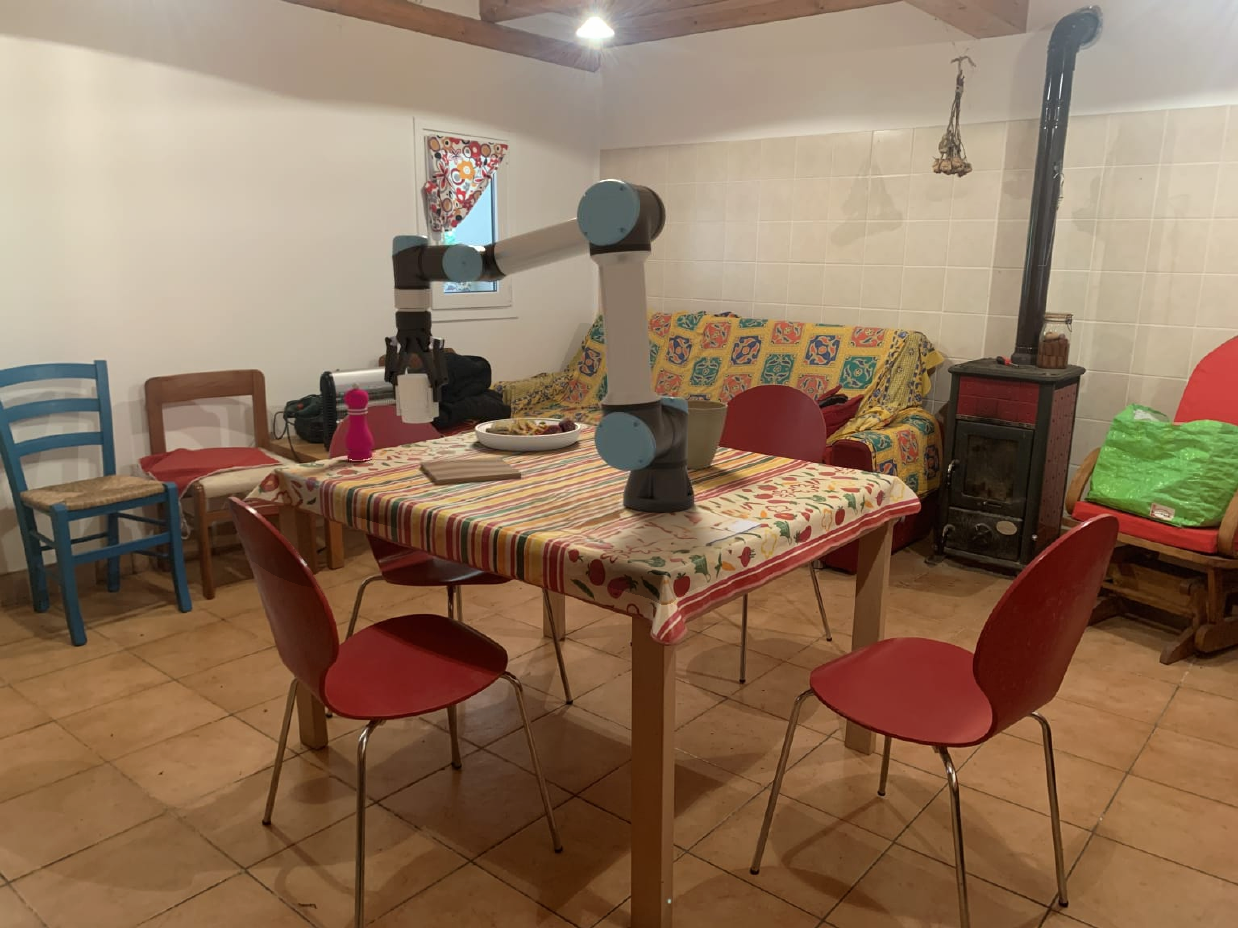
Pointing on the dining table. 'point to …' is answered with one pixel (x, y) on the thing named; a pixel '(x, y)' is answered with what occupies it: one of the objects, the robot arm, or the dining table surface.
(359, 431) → the pepper mill
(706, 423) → the plant pot
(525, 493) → the dining table surface
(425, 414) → the white cup
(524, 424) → the bowl
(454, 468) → the walnut board
